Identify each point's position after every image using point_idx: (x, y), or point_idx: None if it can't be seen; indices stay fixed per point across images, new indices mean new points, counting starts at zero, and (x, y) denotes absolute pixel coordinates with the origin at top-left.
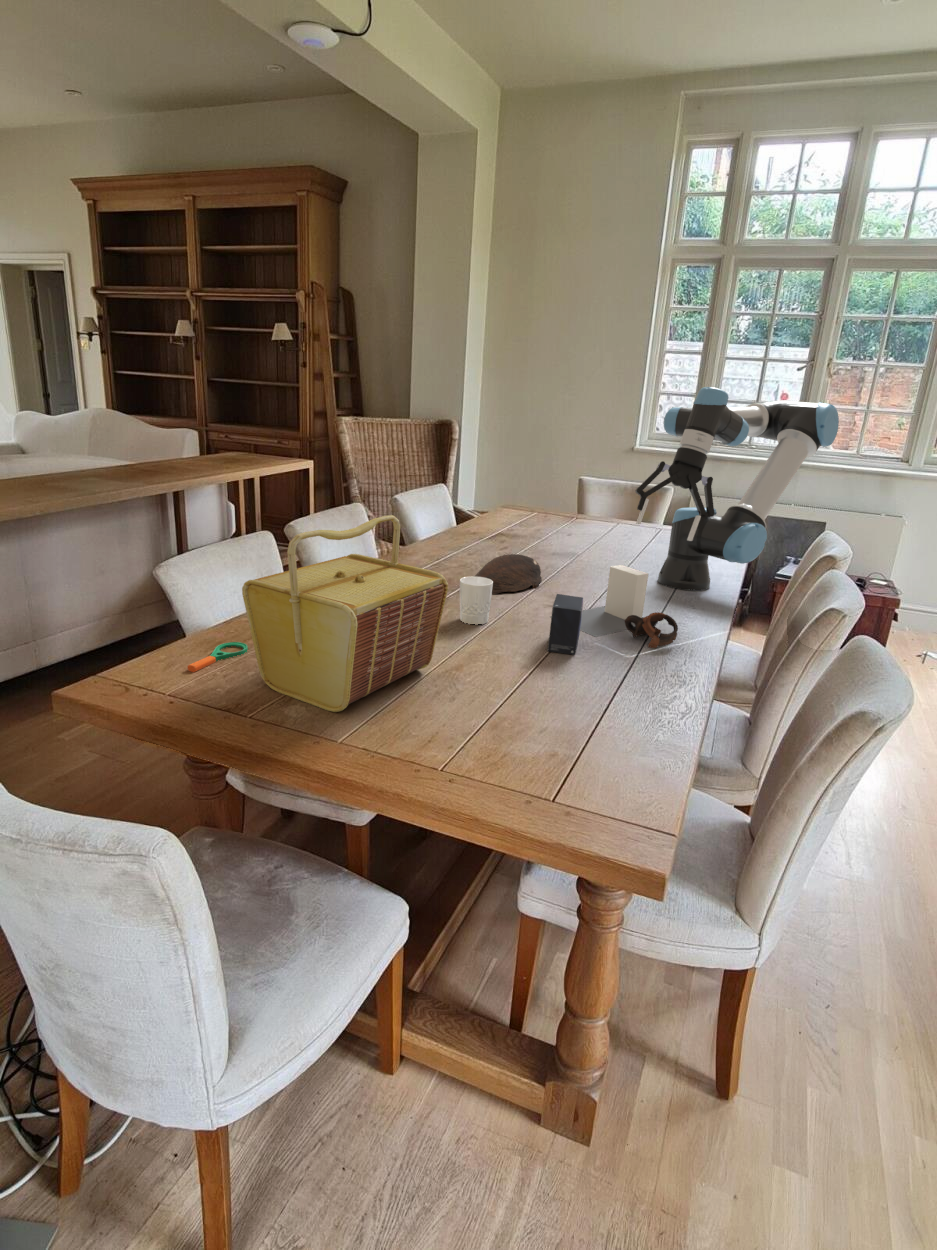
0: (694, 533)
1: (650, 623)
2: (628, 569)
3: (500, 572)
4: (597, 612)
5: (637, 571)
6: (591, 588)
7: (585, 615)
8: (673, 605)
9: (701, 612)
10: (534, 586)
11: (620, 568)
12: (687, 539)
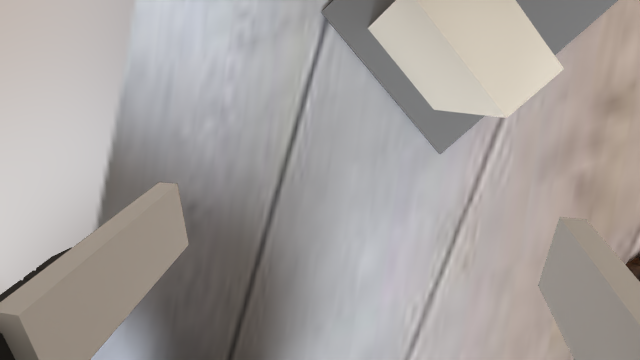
0: (127, 208)
1: None
2: (489, 38)
3: None
4: None
5: (453, 14)
6: (468, 310)
7: (532, 23)
8: (249, 219)
9: (172, 174)
10: (636, 264)
11: (524, 45)
12: (184, 238)
